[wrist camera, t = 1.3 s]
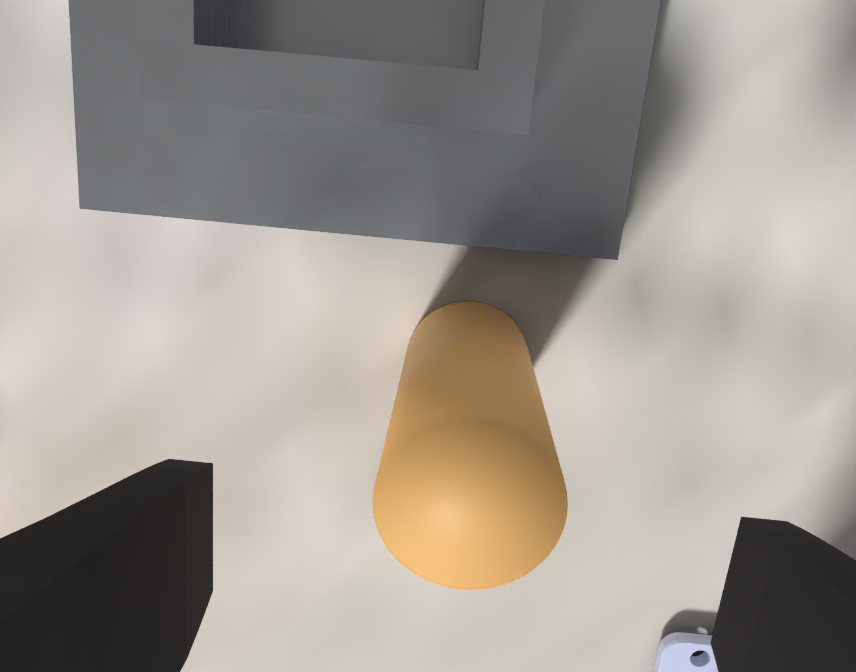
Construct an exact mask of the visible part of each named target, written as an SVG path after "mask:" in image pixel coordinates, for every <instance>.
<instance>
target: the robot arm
mask: <svg viewBox="0 0 856 672" xmlns="http://www.w3.org/2000/svg"><path fill="white" fill-rule="evenodd" d="M212 592H213V463H204V462H194V461H184V460H174V459H168V460H165V461H162V462H160V463H157V464H155V465H152V466H150V467H148V468H146V469H144V470H141V471H139V472H137V473H135V474H133V475H131V476H129V477H127V478H125V479H123V480H121V481H119V482H117V483H115V484H113V485H111V486H109V487H107V488H105V489H103V490H101V491H99V492H97V493H95V494H93V495H91V496H89V497H87V498H85V499H83V500H81V501H79V502H77V503H75V504H73V505H71V506H69V507H67V508H65V509H63V510H61V511H59V512H57V513H55V514H53V515H51V516H49V517H47V518H45V519H42V520H40V521H38V522H36V523H34V524H31V525H29V526H27V527H25V528H23V529H20V530H18V531H16V532H14V533H11V534H9V535H7V536H5V537H3V538H0V672H180V671H181V669H182V667H183V665H184V663H185V661H186V659H187V657H188V655H189V652H190V650H191V647H192V645H193V642H194V640H195V637H196V635H197V632H198V630H199V627H200V624H201V622H202V619H203V616H204V614H205V611H206V608H207V606H208V603H209V600H210V597H211V595H212ZM700 650H703V651H704V652H703V653H702V654H701V655H699V656H691V655H692V653H694V652H696V651H700ZM653 672H856V560H854V559H853V558H851V557H849V556H848V555H846V554H845V553H843V552H841V551H840V550H838V549H836V548H835V547H833V546H831V545H830V544H828V543H826V542H825V541H823V540H821V539H820V538H818V537H816V536H814V535H813V534H811V533H809V532H807V531H805V530H803V529H802V528H800V527H798V526H795V525H793V524H791V523H789V522H787V521H778V520H768V519H758V518H748V517H741V520H740V524H739V528H738V532H737V536H736V540H735V544H734V549H733V553H732V557H731V561H730V565H729V569H728V573H727V577H726V581H725V585H724V589H723V593H722V598H721V602H720V606H719V610H718V614H717V618H716V622H715V626H714V630H713V634H712V635H704V634H694V633H685V632H674V633H671V634H669V635H667V636H665V637H664V638H663V639H662V640H661V643H660V645H659V648H658V653H657V657H656V662H655V666H654V671H653Z"/></svg>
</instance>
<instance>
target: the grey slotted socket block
mask: <svg viewBox="0 0 856 672" xmlns="http://www.w3.org/2000/svg"><path fill="white" fill-rule="evenodd" d="M660 2H661V0H69V15H70V34H71V53H72V72H73V91H74V109H75V128H76V147H77V166H78V185H79V204H80V209H90V210H100V211H111V212H121V213H132V214H142V215H153V216H163V217H174V218H184V219H195V220H205V221H216V222H226V223H237V224H247V225H258V226H268V227H278V228H289V229H299V230H310V231H320V232H331V233H341V234H352V235H362V236H373V237H383V238H394V239H404V240H415V241H425V242H435V243H446V244H456V245H467V246H477V247H488V248H498V249H509V250H519V251H530V252H540V253H551V254H561V255H572V256H582V257H593V258H603V259H613V260H618V254H619V248H620V242H621V236H622V230H623V224H624V218H625V212H626V206H627V200H628V194H629V188H630V182H631V176H632V170H633V164H634V158H635V152H636V146H637V140H638V134H639V128H640V122H641V116H642V110H643V104H644V98H645V92H646V86H647V80H648V74H649V68H650V62H651V56H652V50H653V44H654V38H655V32H656V26H657V20H658V14H659V8H660Z"/></svg>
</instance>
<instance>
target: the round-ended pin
mask: <svg viewBox="0 0 856 672" xmlns="http://www.w3.org/2000/svg"><path fill="white" fill-rule="evenodd" d="M567 507H568V503H567V491H566V487H565V482H564V478H563V475H562V471H561V467H560V464H559V460H558V457H557V453H556V449H555V446H554V442H553V438H552V435H551V431H550V427H549V424H548V420H547V416H546V413H545V409H544V406H543V402H542V398H541V395H540V391H539V387H538V384H537V380H536V376H535V373H534V369H533V365H532V362H531V358H530V355H529V351H528V347H527V344H526V341H525V338H524V336H523V334H522V332H521V330H520V328H519V327H518V326H517V324H516V323H515V322H514V321H513V320H512V319H511V318H510V317H509V316H508V315H507V314H505V313H504V312H503V311H501V310H499V309H498V308H496V307H493V306H491V305H489V304H485V303H482V302H476V301H460V302H454V303H450V304H447V305H444V306H441V307H440V308H438V309H436V310H434V311H433V312H431V313H430V314H428V315H427V316H426V317H425V318H424V319H423V320H422V321H421V322H420V323H419V325H418V326H417V327H416V329H415V330H414V332H413V334H412V336H411V338H410V341H409V345H408V348H407V353H406V357H405V361H404V365H403V369H402V373H401V377H400V382H399V386H398V390H397V394H396V398H395V402H394V407H393V411H392V415H391V419H390V423H389V427H388V432H387V436H386V440H385V444H384V448H383V452H382V457H381V461H380V465H379V469H378V473H377V477H376V482H375V486H374V493H373V511H374V518H375V522H376V525H377V529H378V531H379V533H380V536H381V538H382V540H383V542H384V543H385V545H386V546H387V548H388V549H389V551H390V552H391V553H392V554H393V555H394V557H395V558H396V559H397V560H398V561H399V562H400V563H401V564H403V565H404V566H405V567H406V568H408V569H409V570H410V571H412V572H413V573H415V574H416V575H418V576H420V577H422V578H424V579H426V580H428V581H431V582H433V583H435V584H439V585H442V586H446V587H451V588H457V589H486V588H491V587H497V586H500V585H503V584H507V583H509V582H512V581H514V580H516V579H519V578H520V577H522V576H524V575H526V574H527V573H529V572H530V571H532V570H533V569H534V568H536V567H537V566H538V565H539V564H540V563H541V562H542V561H543V560H544V559H545V558H546V557H547V556H548V555H549V554H550V552H551V551H552V550H553V549H554V547H555V545H556V544H557V542H558V540H559V538H560V536H561V534H562V531H563V529H564V525H565V521H566V517H567Z"/></svg>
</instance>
